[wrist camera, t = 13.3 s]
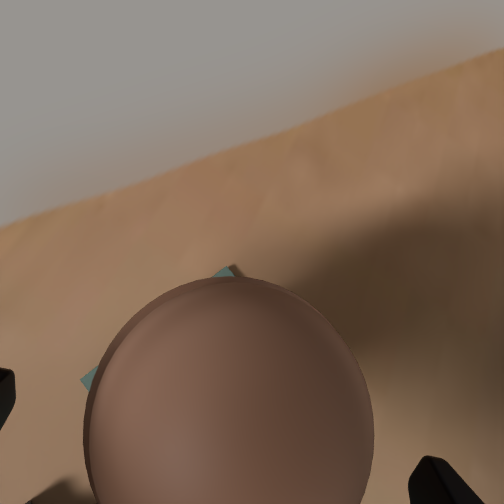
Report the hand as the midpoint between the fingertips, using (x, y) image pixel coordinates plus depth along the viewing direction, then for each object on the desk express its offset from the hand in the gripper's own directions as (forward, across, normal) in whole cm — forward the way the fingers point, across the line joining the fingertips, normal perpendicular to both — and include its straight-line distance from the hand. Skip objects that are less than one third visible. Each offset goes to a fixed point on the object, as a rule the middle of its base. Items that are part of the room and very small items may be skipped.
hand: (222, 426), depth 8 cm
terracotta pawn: (+7, 0, +6) cm, 9 cm away
